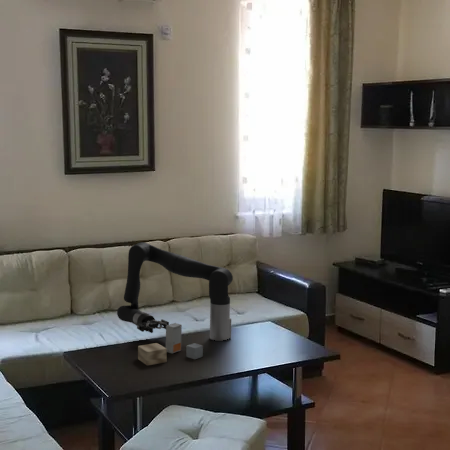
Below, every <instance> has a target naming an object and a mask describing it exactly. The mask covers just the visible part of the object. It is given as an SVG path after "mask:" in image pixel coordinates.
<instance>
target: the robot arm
mask: <svg viewBox="0 0 450 450" xmlns="http://www.w3.org/2000/svg"><path fill="white" fill-rule="evenodd" d="M127 254H128V258H127V264H128V265H127V278H126V283H125V288H124V289H125V290H124V295H123V300H124V302H126V303H129V304H130V305H121V306H119V307H118V308H117V311H116V315H117V317H118V319H119V320H120V321H122V322H126V323H131V324H133V325H135V326H136V329H137V330H138V331H141V332H148V333H151V334H153V333H154V329H156V330H157V329H159V330H161V329H164V330H166V326H167V325H170V321H168V320H165V319H160V320H157V319H155V317H154V316H153V315H151V314H149V313H147V312H145V311H142V310H140V309H139V296H140V291H141V277H140V276H141V275H140V274H141V268H142V265H143V263H144V262H146V261H147V262H151V263H155V264H158V265H160V266H162V267H163V268H164V269H165V270H167V271H168V272H170V273H172V274H175V275H177V276H181V277H186V278H195V279H203V280H206V281H208V296H209V299H210V302H209V304H210V306H209V307H210V310H209V339H210V340H211V341H214V340H215V341H214V342H224V341H223V340H226V341H228V340H229V338H230V339H232V318H230V317H231V313H230V311H231V297H230V296H229V285H231V283H232V282H233V278H234V276H233V273H232V272H231V271H230V270H229V269H227V268H225V267H222V266H216V265H212V264H207V263H204V262H202V261H199V260H196V259H194V258H192V257H191V258H190V257H188V256H186V255H182V254H178V253H174V252H171V251H168V250H163V249H162V248H158V247H156V246H154V245H152V244H150V243H147V242H143V241H141V242H138V243H136V244H134V245H132V246H131V247H130V248H129V250H128V253H127ZM227 339H228V340H227Z"/></svg>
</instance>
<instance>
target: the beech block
mask: <svg viewBox="0 0 450 450" xmlns="http://www.w3.org/2000/svg"><path fill="white" fill-rule="evenodd" d="M167 354H168V352H167V349H166V346H163V345H161V344H159V343H158V342H155V343H149V344H142V345H138V346H137V360H139V361H140V362H141V363H142V364H144V365H146V366H152V365H153V366H154V365H157V364H163V363H168V362H167V361H168V360H167V359H168V357H167Z"/></svg>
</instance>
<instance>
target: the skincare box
mask: <svg viewBox="0 0 450 450" xmlns="http://www.w3.org/2000/svg"><path fill="white" fill-rule="evenodd" d="M182 328H183V327H182V324H181V323H176V322H174V323H169V325H167V326H166V329H165V348H166V349H167V353H169V354H174V353H177V352H180V351H182Z"/></svg>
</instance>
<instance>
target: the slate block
mask: <svg viewBox="0 0 450 450" xmlns="http://www.w3.org/2000/svg"><path fill="white" fill-rule="evenodd" d="M203 349H204V345H202V344H198V343H195V342H193V343H191V344H190V343H189V344H188V345H186V349H185V351H186V356H185V357H186V358H189V359H193V360H196V359H200V358H202V357H204V354H203V353H204V350H203Z"/></svg>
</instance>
